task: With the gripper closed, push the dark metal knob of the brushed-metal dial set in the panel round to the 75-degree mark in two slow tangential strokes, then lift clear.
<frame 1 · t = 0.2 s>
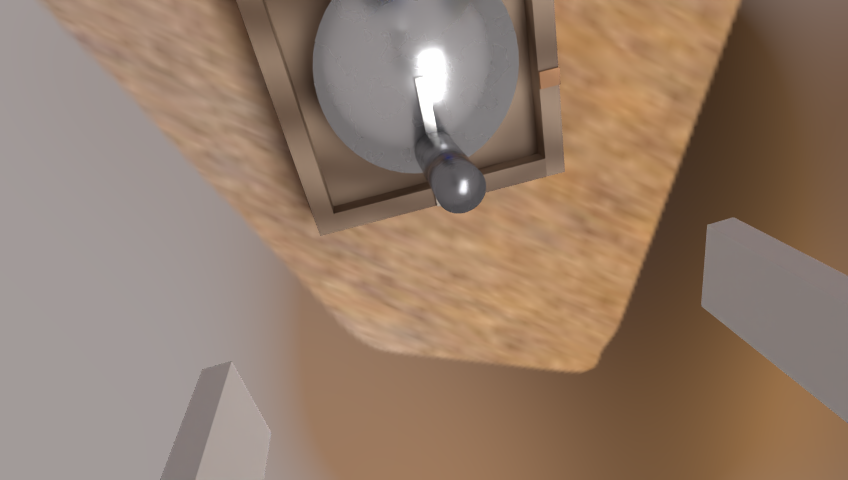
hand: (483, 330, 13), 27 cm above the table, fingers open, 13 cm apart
dial panel: (410, 66, 35), on the table
dial: (427, 80, 28), point 7 cm above the table, hinge at 0.0°
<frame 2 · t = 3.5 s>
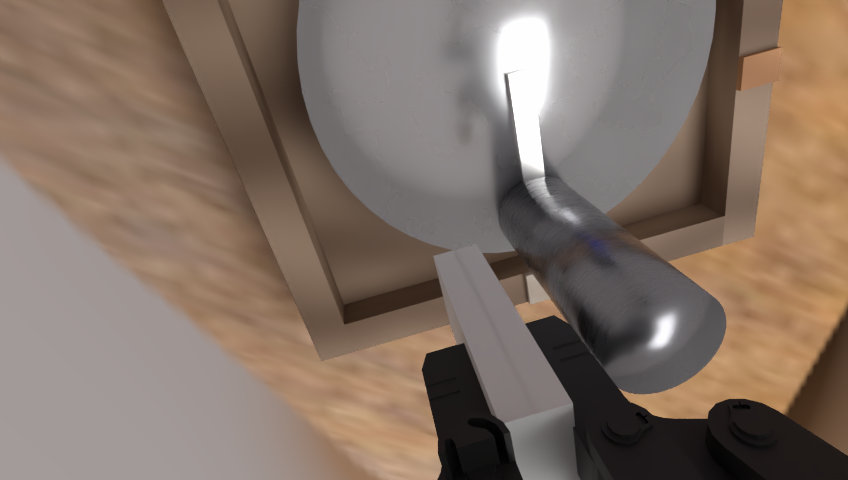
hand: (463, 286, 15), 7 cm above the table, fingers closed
dial panel: (482, 54, 19), on the table
dial: (552, 75, 13), point 7 cm above the table, hinge at 0.6°, touching gripper
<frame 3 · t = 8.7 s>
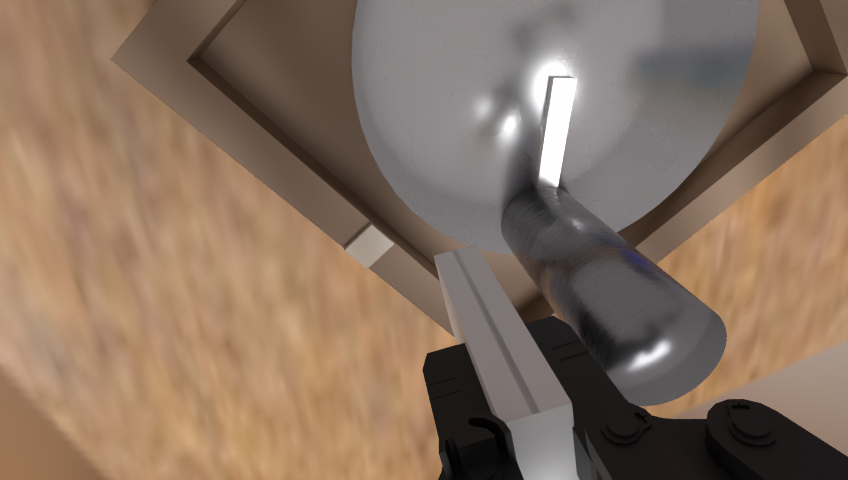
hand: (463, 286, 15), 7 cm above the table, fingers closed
dial panel: (520, 59, 19), on the table
dial: (607, 83, 13), point 7 cm above the table, hinge at 44.8°, touching gripper
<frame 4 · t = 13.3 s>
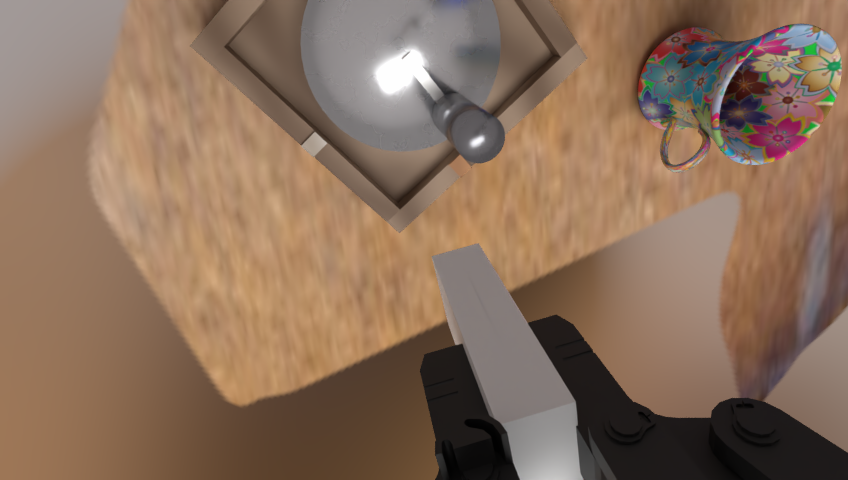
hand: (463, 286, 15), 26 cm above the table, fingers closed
dial panel: (397, 49, 36), on the table
dial: (409, 56, 30), point 7 cm above the table, hinge at 86.9°
mug: (664, 91, 41), on the table
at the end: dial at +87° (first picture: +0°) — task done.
